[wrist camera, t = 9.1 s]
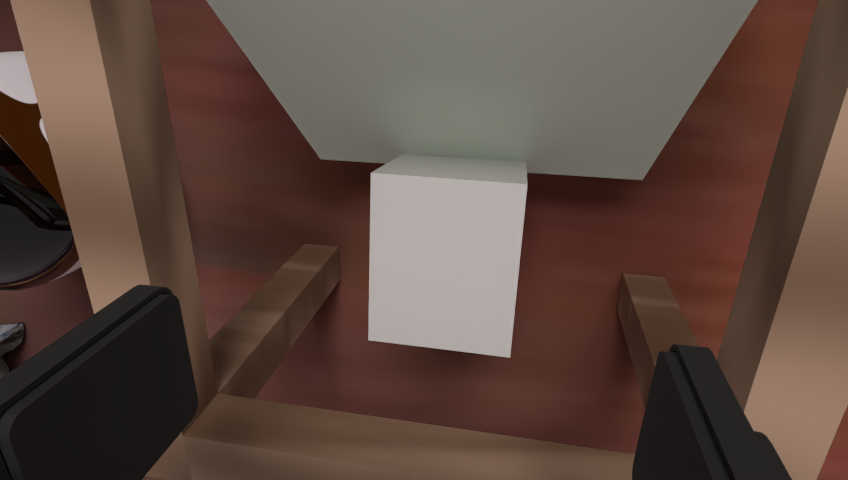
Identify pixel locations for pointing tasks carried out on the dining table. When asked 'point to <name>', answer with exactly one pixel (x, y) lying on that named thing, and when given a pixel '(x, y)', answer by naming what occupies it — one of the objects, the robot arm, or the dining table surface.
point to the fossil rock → (9, 342)
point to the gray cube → (446, 252)
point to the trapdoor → (488, 75)
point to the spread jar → (29, 188)
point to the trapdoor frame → (320, 272)
